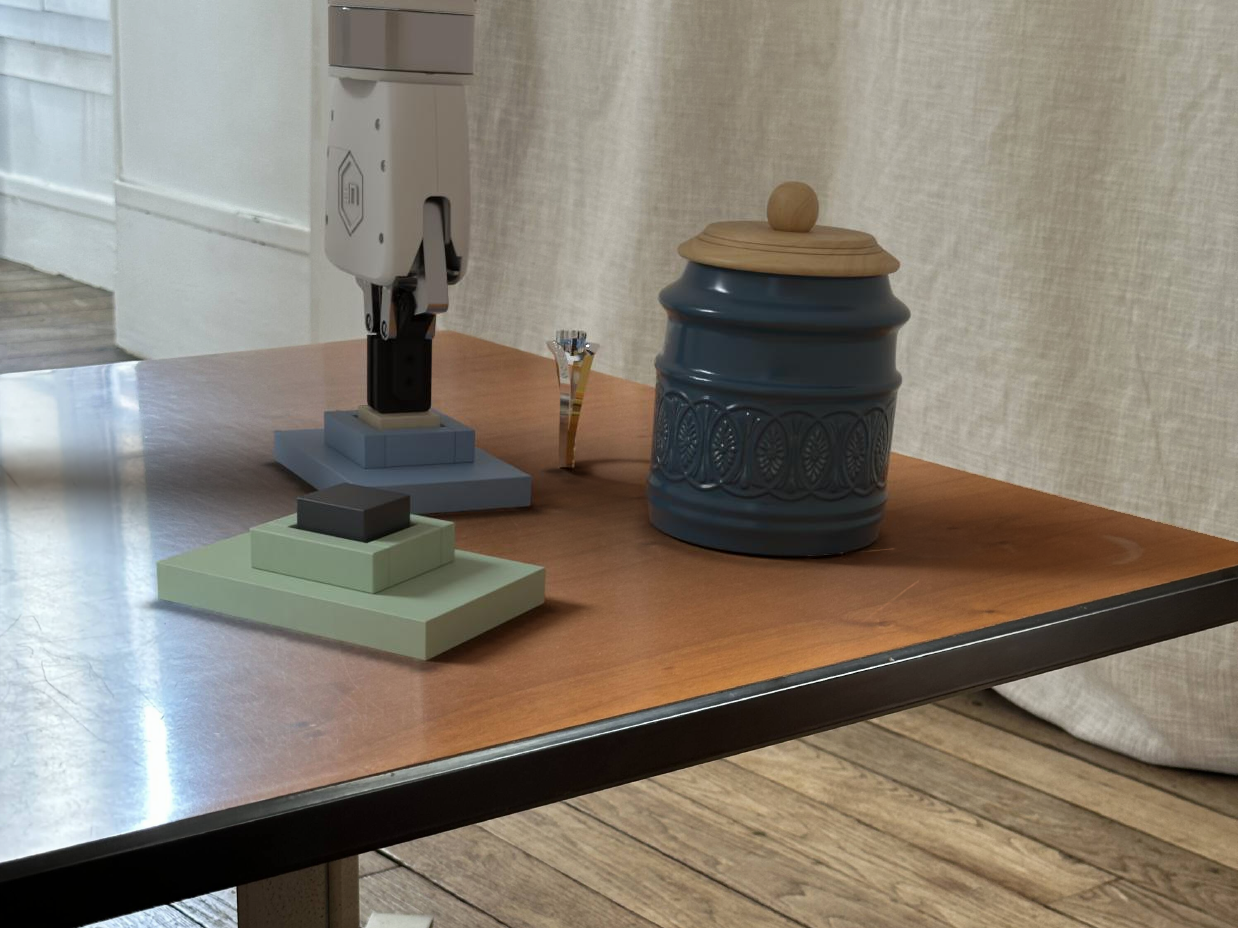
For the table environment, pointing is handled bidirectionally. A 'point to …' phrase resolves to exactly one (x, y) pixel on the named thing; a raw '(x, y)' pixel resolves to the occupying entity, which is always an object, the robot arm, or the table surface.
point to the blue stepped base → (405, 463)
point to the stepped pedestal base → (356, 585)
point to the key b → (398, 419)
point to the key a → (353, 512)
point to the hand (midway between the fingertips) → (399, 408)
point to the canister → (776, 386)
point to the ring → (571, 397)
